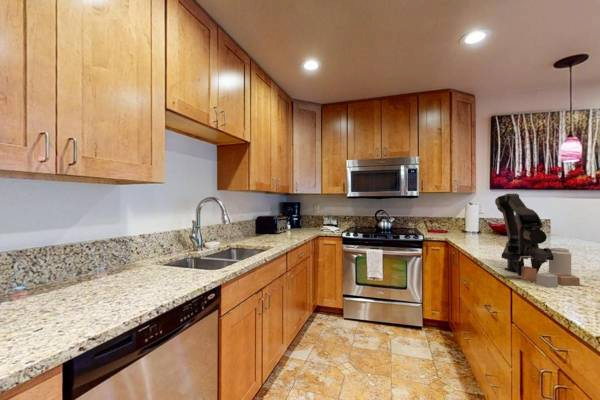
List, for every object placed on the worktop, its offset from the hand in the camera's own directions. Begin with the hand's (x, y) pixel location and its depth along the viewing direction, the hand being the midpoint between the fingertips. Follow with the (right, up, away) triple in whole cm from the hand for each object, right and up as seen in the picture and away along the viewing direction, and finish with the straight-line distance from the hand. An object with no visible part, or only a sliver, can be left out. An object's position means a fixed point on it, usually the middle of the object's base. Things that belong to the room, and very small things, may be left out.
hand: (527, 275), depth 122 cm
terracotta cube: (0, -1, 0) cm, 1 cm away
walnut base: (+8, -1, -8) cm, 11 cm away
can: (+18, -1, +4) cm, 18 cm away
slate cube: (-1, -1, -11) cm, 11 cm away
